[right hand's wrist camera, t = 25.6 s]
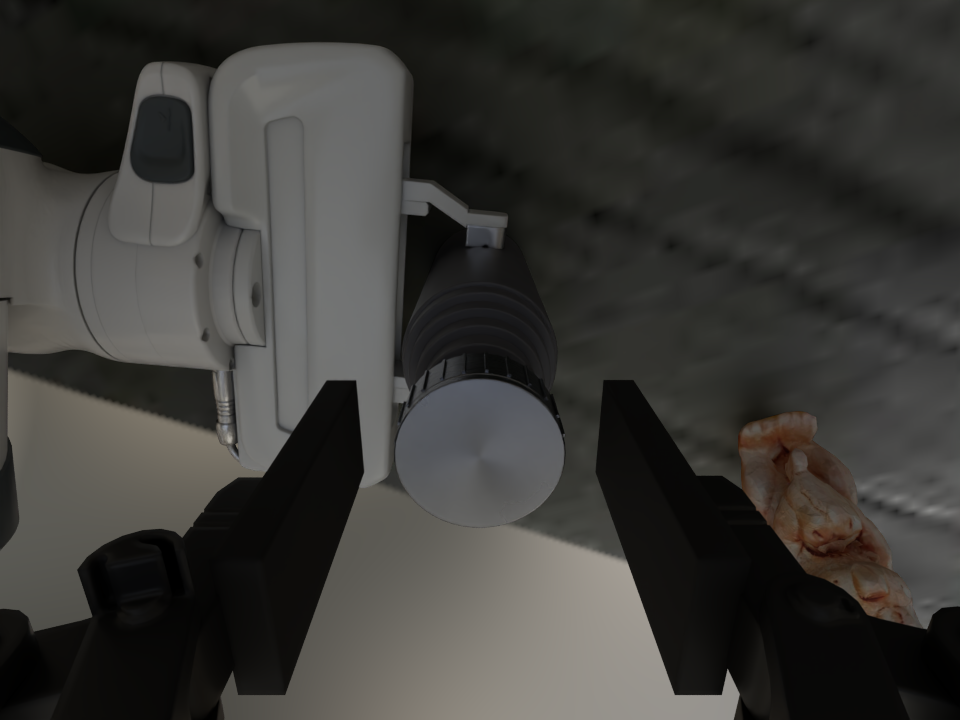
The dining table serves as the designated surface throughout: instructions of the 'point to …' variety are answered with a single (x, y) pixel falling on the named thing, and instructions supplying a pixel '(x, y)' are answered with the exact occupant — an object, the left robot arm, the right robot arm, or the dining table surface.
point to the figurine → (820, 513)
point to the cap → (479, 441)
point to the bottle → (479, 311)
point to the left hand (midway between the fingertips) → (498, 302)
